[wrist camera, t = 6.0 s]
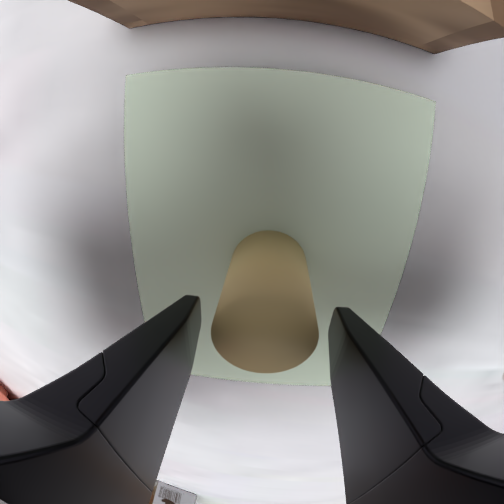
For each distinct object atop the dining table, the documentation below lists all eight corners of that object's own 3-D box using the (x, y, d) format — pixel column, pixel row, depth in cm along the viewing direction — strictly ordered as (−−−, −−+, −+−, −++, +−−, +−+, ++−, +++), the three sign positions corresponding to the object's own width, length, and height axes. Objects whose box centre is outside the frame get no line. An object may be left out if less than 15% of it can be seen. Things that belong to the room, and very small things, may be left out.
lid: (420, 102, 9) (508, 103, 4) (353, 369, 15) (369, 447, 10) (139, 78, 9) (52, 63, 4) (161, 353, 15) (131, 426, 10)
